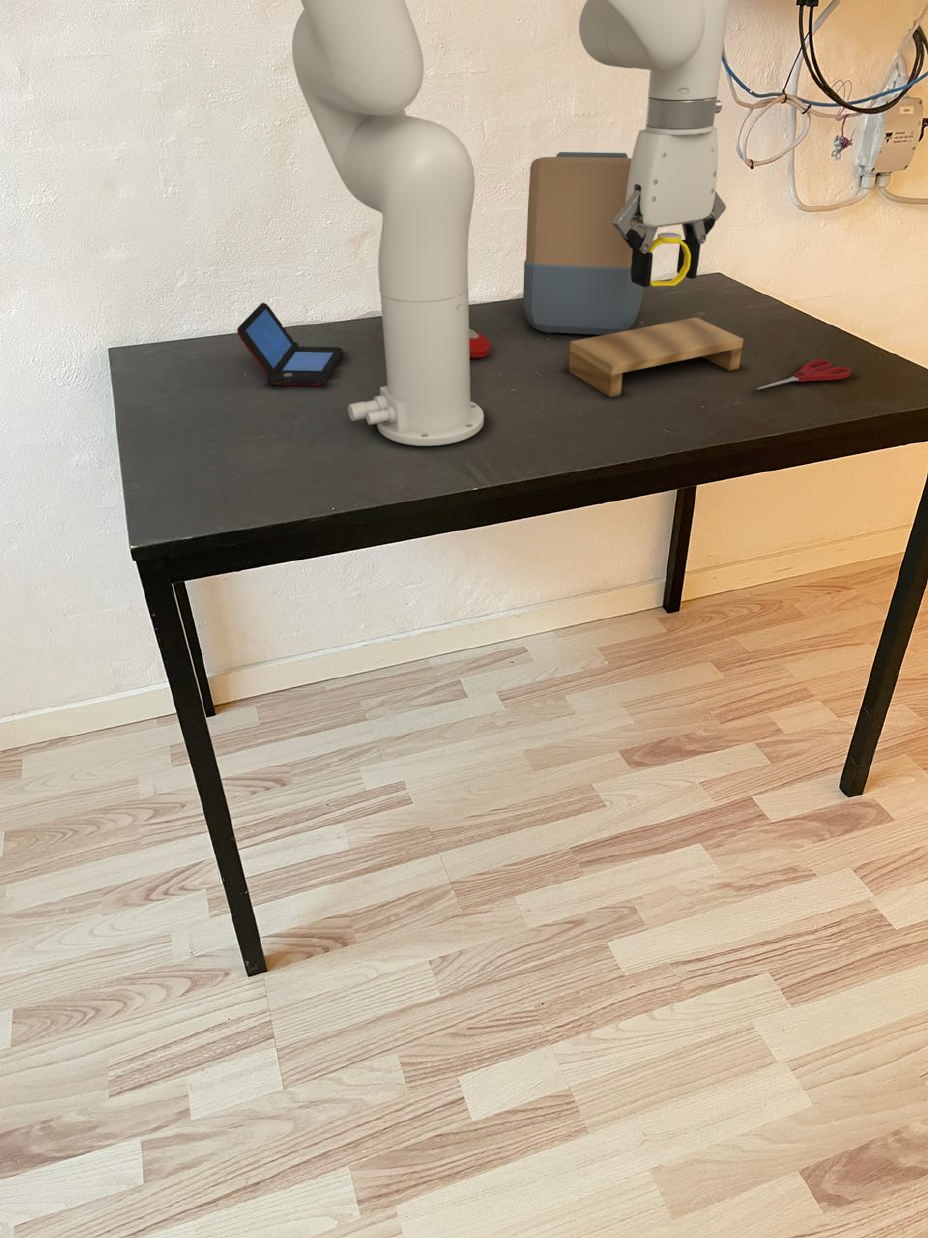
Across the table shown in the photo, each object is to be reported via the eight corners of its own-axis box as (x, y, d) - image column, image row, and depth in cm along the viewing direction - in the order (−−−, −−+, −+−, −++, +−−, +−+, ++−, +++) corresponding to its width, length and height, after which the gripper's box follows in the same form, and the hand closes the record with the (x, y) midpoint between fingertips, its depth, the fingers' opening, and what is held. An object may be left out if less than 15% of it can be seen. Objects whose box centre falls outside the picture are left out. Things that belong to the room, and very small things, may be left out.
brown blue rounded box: (643, 308, 139) (659, 140, 125) (634, 344, 126) (651, 161, 112) (537, 303, 142) (541, 139, 128) (518, 337, 129) (520, 159, 115)
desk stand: (609, 397, 111) (612, 365, 108) (568, 371, 118) (570, 341, 116) (738, 368, 117) (743, 338, 115) (692, 345, 125) (695, 317, 122)
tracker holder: (506, 345, 123) (446, 343, 117) (496, 374, 126) (437, 373, 120) (462, 303, 130) (404, 299, 124) (453, 331, 132) (396, 328, 127)
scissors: (853, 377, 114) (855, 369, 113) (772, 399, 108) (774, 392, 108) (820, 364, 117) (822, 356, 117) (741, 385, 112) (742, 377, 112)
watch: (643, 290, 110) (648, 239, 106) (636, 284, 112) (640, 233, 108) (690, 286, 110) (696, 235, 107) (681, 280, 113) (687, 230, 109)
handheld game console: (324, 388, 115) (318, 331, 111) (243, 386, 116) (233, 329, 112) (345, 354, 125) (340, 300, 121) (271, 353, 126) (262, 299, 122)
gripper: (721, 105, 106) (701, 263, 116) (596, 118, 100) (587, 282, 111) (763, 112, 100) (738, 277, 111) (634, 126, 95) (621, 298, 105)
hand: (663, 278), depth 111 cm, fingers closed on watch, 6 cm apart
